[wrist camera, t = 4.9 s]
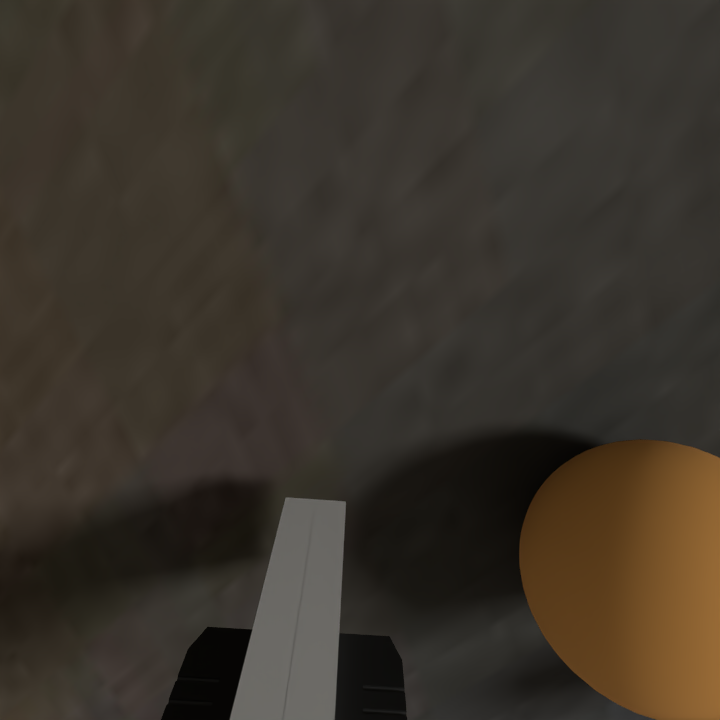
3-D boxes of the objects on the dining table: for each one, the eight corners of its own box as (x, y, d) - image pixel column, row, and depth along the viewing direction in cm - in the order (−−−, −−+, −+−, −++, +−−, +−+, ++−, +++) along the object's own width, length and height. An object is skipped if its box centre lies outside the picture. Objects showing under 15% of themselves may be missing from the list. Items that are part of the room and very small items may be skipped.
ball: (926, 664, 11) (678, 512, 16) (884, 455, 8) (615, 363, 14) (705, 855, 10) (528, 629, 16) (601, 685, 8) (439, 493, 13)
